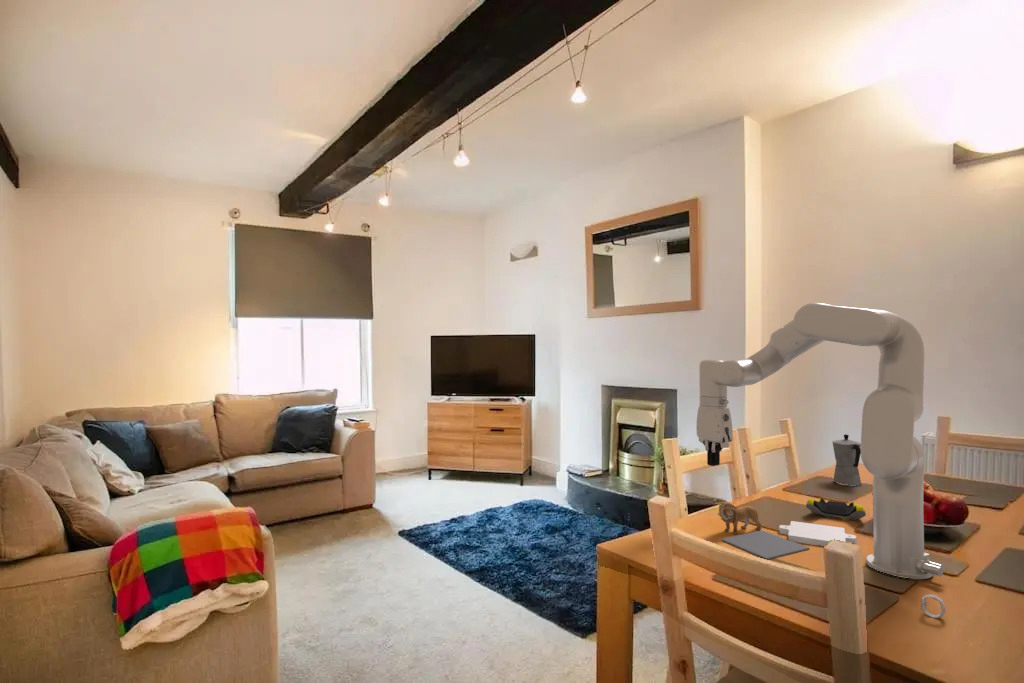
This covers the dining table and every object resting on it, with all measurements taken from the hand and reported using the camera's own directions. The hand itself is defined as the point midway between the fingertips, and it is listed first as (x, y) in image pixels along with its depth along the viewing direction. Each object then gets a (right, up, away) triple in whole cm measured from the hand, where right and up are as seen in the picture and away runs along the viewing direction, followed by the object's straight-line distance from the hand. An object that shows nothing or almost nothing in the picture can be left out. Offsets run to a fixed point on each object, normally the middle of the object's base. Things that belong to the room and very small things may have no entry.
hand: (713, 464), depth 158 cm
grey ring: (+21, -17, -55) cm, 61 cm away
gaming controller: (+38, -17, +4) cm, 42 cm away
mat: (+7, -17, -17) cm, 25 cm away
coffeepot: (+64, -17, +40) cm, 78 cm away
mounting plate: (+23, -17, -12) cm, 31 cm away
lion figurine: (+5, -17, -7) cm, 19 cm away
